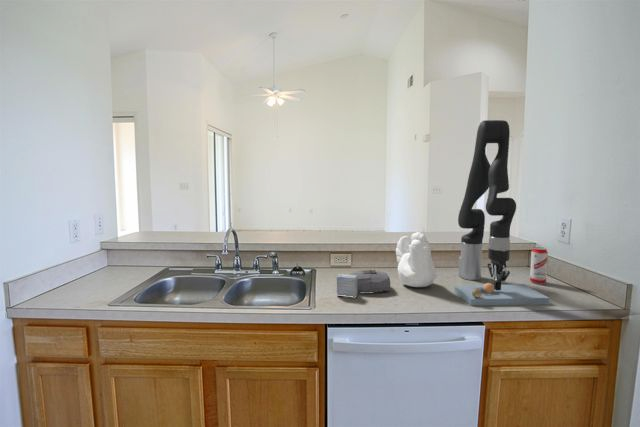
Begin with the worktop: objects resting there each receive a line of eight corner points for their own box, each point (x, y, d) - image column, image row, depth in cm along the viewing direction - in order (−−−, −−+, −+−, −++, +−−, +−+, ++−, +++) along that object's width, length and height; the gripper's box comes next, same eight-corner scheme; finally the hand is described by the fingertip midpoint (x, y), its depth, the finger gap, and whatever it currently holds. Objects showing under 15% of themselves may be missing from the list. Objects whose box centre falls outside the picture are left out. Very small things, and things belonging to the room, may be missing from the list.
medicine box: (357, 295, 144) (357, 275, 143) (355, 298, 139) (355, 278, 138) (339, 293, 146) (339, 273, 145) (336, 296, 142) (336, 276, 141)
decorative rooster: (442, 290, 147) (443, 234, 144) (407, 292, 145) (407, 235, 142) (419, 274, 172) (420, 225, 169) (389, 275, 170) (389, 226, 167)
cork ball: (469, 296, 132) (469, 288, 132) (475, 295, 134) (476, 286, 133) (477, 299, 129) (477, 290, 129) (483, 298, 131) (484, 289, 130)
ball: (481, 282, 138) (491, 280, 138) (481, 289, 140) (491, 287, 140) (486, 288, 135) (496, 286, 135) (486, 296, 137) (496, 294, 136)
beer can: (548, 285, 152) (550, 249, 150) (533, 284, 153) (535, 249, 151) (542, 280, 158) (544, 246, 156) (527, 280, 159) (529, 246, 157)
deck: (524, 290, 146) (524, 284, 146) (549, 304, 130) (549, 297, 130) (454, 291, 146) (454, 285, 146) (470, 305, 130) (470, 299, 130)
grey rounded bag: (385, 283, 159) (342, 284, 158) (385, 265, 158) (342, 267, 157) (393, 294, 144) (346, 296, 143) (393, 275, 143) (346, 276, 142)
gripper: (481, 244, 142) (480, 284, 144) (498, 251, 129) (496, 295, 131) (499, 244, 142) (497, 284, 144) (518, 251, 129) (516, 295, 131)
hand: (497, 289), depth 138 cm, fingers closed
